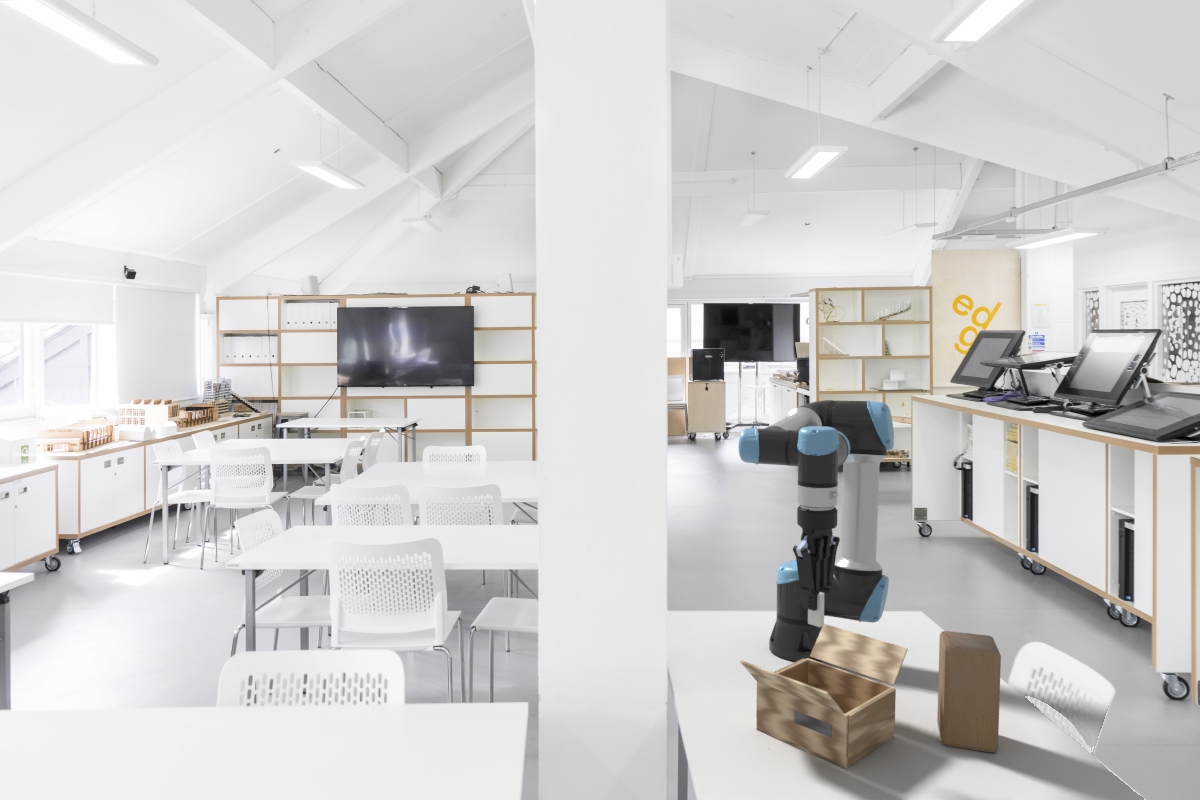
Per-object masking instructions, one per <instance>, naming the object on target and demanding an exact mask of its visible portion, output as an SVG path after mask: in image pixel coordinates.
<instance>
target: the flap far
mask: <svg viewBox="0 0 1200 800" xmlns="http://www.w3.org/2000/svg"><path fill="white" fill-rule="evenodd" d="M907 652H908V648H907V647H905V646H900V645H899V644H894V643H890V642H887V641H884V640H881V639H877V638H874V637H870V636H867V635H863V634H861V633H857V632H853V631H851V630H847V629H843V628H840V627H837V626H833V625H830V624H826V623H824V626H823V627H822V629H821V631H820V633H819V636H818V638H817V640H816V643H815V645H814V647H813V650H812V652H811V654H810V657H812V658H815V659H818V660H821V661H822V662H825V663H826V664H830V665H833V666H837V667H839V668H841V669H845V670H848V671H851V672H854V673H856V674H858V675H859V674H860V675H861V676H862V675H863V676H864V677H865V676H866V677H869V678H871V679H875V680H878V681H880V682H884V683H886V684H890V685H892V686H894V685H895V684H896V682H897V679H898V676H899V673H900V671H901V668H902V666H903V663H904V660H905V657H906V656H907ZM821 661H820V662H821Z"/></svg>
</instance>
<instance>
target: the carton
mask: <svg viewBox="0 0 1200 800" xmlns="http://www.w3.org/2000/svg"><path fill="white" fill-rule="evenodd" d="M774 672H775V673H777V674H780V675H783V676H785V677H788V678H791V679H794V680H796V681H799V682H802V683H804V684H807V685H810V686H812V687H815V688H818V689H821V690H823V691H826V692H828V694H829V695H830V696H831V697H832V699H833V700H834V701H835V702H836V704H837V705H838V706H839V707H840V709H841V710H842V711H843V713H844V714H843V715H842V714H839V713H837V712H834V711H832V710H829V709H826V708H824V707H821V706H819V705H816V704H814V703H811V702H808V701H806V700H803V699H801V698H798V697H796V696H793V695H790V694H788V693H785V692H783V691H780V690H778V689H775V688H772V687H770V686H767V685H765V684H762V683H760V682H757V681H756V714H755V715H756V717H755V718H756V728H755V729H756V730H757V731H760V732H762V733H764V734H766V735H768V736H770V737H773V738H775V739H777V740H780V741H782V742H783V743H786V744H788V745H791V746H793V747H795V748H797V749H800V750H802V751H804V752H806V753H808V754H811V755H813V756H815V757H818V758H820V759H822V760H825V761H826V762H828V763H831V764H834V765H836V766H837V767H840V768H842V769H844V770H846V769H848V768H849V767H850V766H852V765H854V764H855V763H857V762H858V761H860V760H861V759H862V758H864V757H866V756H867V755H869V754H870V753H872V752H873V751H874V750H876V749H878V748H879V747H881V746H882V745H883V744H885V743H886V742H888V741H889V740H891V739H892V738H894V734H895V729H896V722H895V721H896V699H897V698H896V693H897V689H896V688H895V687H894V686H891V685H888V684H885V683H882V682H879V681H876V680H873V679H872V678H871V679H870V678H867V677H865V676H862V675H859V674H857V673H856V674H855V673H853V672H850V671H847V670H844V669H842V668H838V667H835V666H832V665H829V664H828V663H823V662H821V661H815V660H812V659H809V658H807V659H805V658H803V659H801V660H799V661H793V663H792V662H791V663H790V664H788V665H786V666H783V667H782V668H779V669H777V670H775V671H774Z"/></svg>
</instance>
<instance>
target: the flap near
mask: <svg viewBox="0 0 1200 800" xmlns="http://www.w3.org/2000/svg"><path fill="white" fill-rule="evenodd" d="M739 662H740V664H741V665H742V666H743V667H744V669H746V670H747V672H748V673H749V675H751V676H752V677H753V679H754V680H755V681H756V683H757V682H760V683H762V684H765V685H767V686H770V687H772V688H775V689H778V690H780V691H783V692H785V693H788V694H790V695H793V696H796V697H798V698H801V699H803V700H806V701H808V702H811V703H814V704H816V705H819V706H821V707H824V708H826V709H829V710H832V711H834V712H837V713H839V714H842V715H843V714H844V713H843V711H842V710H841V709H840V707H839V706H838V705H837V704H836V702H835V701H834V700H833V699H832V697H831V696H830V695H829V694H828V692H826V691H823V690H821V689H818V688H815V687H812V686H810V685H807V684H804V683H802V682H799V681H796V680H794V679H791V678H788V677H785V676H783V675H780V674H777V673H775V671H773V670H772V671H771V670H769V669H766V668H764V667H761V666H758V665H755V664H753V663H750V662H747V661H744V660H742V659H740V661H739Z"/></svg>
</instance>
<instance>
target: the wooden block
mask: <svg viewBox="0 0 1200 800" xmlns="http://www.w3.org/2000/svg"><path fill="white" fill-rule="evenodd" d="M938 646H939V648H938V649H939V650H938V651H939V653H938V680H937V681H938V684H937V685H938V688H937V717H936V718H937V720H936V721H937V726H938V731H939V737H940V741H941V743H942V745H944V746H946V747H947V746H948V747H955V748H961V749H967V750H974V751H980V752H987V753H992V754H993V753H996V752H997V750H998V749H999V728H1000V727H999V726H1000V701H1001V700H1000V697H1001V695H1000V694H1001V693H1000V692H1001V669H1002V668H1001V665H1002V664H1001V663H1002V662H1001V661H1002V660H1001V659H1002V656H1001V655H1002V654H1001V653H1000V651H999V648H998V646H997V644H996V641H995V639H994V637H993V636H991V635H985V634H978V633H971V632H970V633H969V632H968V633H967V632H960V631H959V632H958V631H950V630H943V631H941V632H940V634H939V644H938Z"/></svg>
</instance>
